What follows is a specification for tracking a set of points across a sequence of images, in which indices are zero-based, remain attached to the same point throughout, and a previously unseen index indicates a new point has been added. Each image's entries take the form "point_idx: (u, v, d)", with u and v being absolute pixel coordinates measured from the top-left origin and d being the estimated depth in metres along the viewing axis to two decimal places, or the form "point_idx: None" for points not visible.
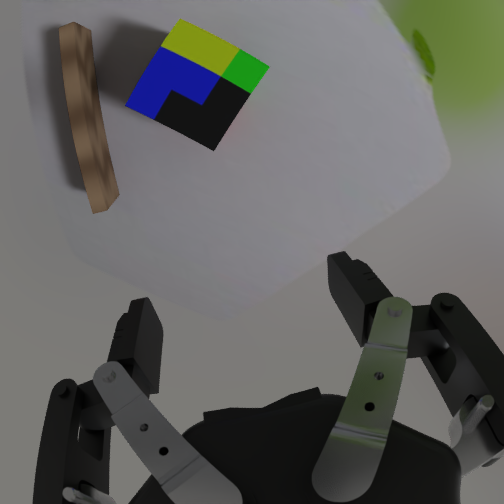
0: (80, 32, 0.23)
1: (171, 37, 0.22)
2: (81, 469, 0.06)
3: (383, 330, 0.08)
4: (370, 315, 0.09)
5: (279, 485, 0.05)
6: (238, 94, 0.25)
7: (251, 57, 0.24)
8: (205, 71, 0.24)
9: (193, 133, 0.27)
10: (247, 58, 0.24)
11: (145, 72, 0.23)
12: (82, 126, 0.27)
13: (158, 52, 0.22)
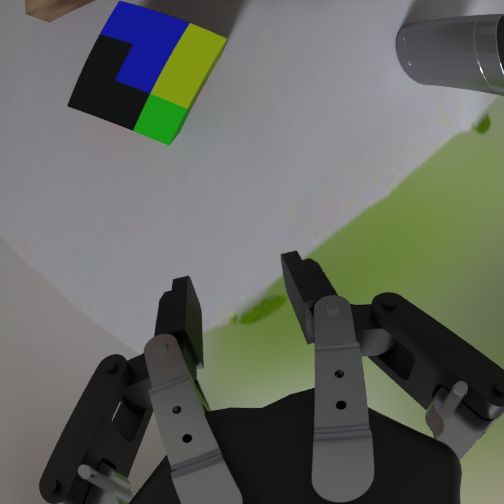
0: None
1: (200, 32, 0.18)
2: (106, 448, 0.07)
3: (327, 330, 0.09)
4: (311, 312, 0.10)
5: (279, 485, 0.05)
6: (130, 117, 0.21)
7: (177, 123, 0.22)
8: (154, 75, 0.19)
9: (84, 79, 0.18)
10: (175, 118, 0.22)
11: (156, 13, 0.17)
12: None
13: (181, 22, 0.18)
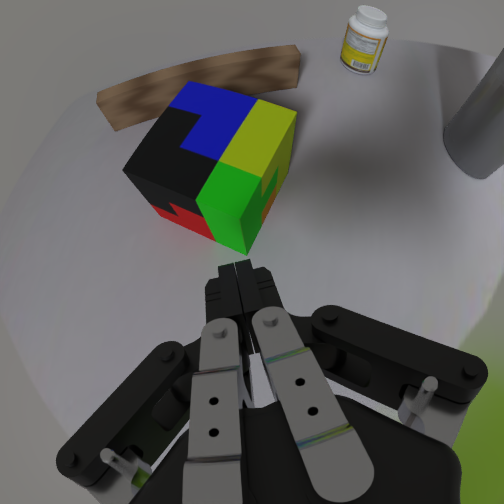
0: (289, 66, 0.30)
1: (270, 107, 0.22)
2: (139, 435, 0.07)
3: (272, 342, 0.09)
4: None
5: (279, 485, 0.05)
6: (193, 185, 0.20)
7: (250, 193, 0.20)
8: (223, 143, 0.21)
9: (145, 145, 0.21)
10: (248, 187, 0.20)
11: (225, 90, 0.22)
12: (183, 71, 0.28)
13: (249, 98, 0.22)
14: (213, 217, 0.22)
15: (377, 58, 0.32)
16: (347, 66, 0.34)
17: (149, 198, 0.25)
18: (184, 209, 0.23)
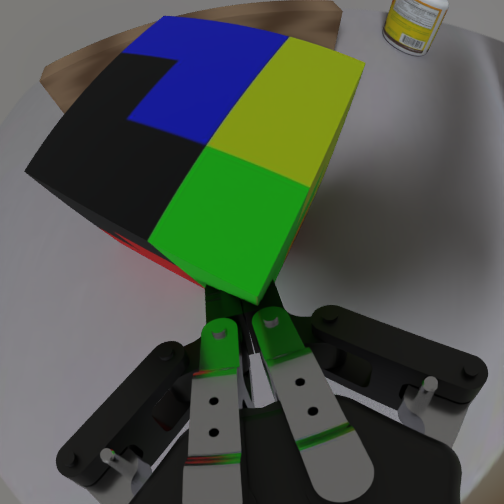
0: (325, 28, 0.18)
1: (314, 49, 0.10)
2: (139, 435, 0.07)
3: (272, 342, 0.09)
4: None
5: (279, 485, 0.05)
6: (144, 202, 0.08)
7: (284, 226, 0.08)
8: (220, 109, 0.09)
9: (69, 120, 0.09)
10: (277, 211, 0.08)
11: (226, 24, 0.10)
12: None
13: (273, 34, 0.10)
14: (195, 272, 0.10)
15: (433, 35, 0.20)
16: (394, 42, 0.23)
17: (89, 219, 0.13)
18: (140, 246, 0.11)
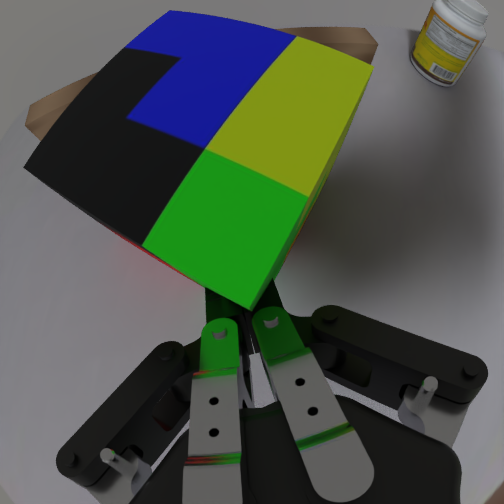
0: None
1: (321, 50, 0.09)
2: (139, 435, 0.07)
3: (272, 342, 0.09)
4: None
5: (279, 485, 0.05)
6: (140, 205, 0.08)
7: (280, 236, 0.08)
8: (221, 110, 0.09)
9: (68, 117, 0.09)
10: (274, 221, 0.08)
11: (232, 21, 0.10)
12: None
13: (280, 33, 0.10)
14: (190, 276, 0.10)
15: (466, 66, 0.18)
16: (423, 71, 0.21)
17: (88, 214, 0.13)
18: (138, 246, 0.11)
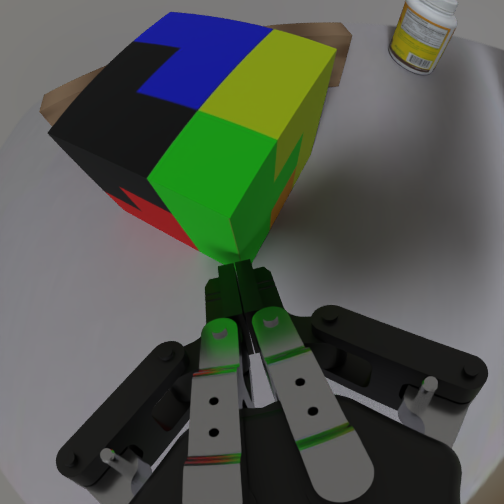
0: None
1: (292, 39, 0.12)
2: (139, 435, 0.07)
3: (272, 342, 0.09)
4: None
5: (279, 485, 0.05)
6: (146, 151, 0.10)
7: (254, 167, 0.10)
8: (211, 84, 0.11)
9: (87, 93, 0.11)
10: (250, 156, 0.10)
11: (222, 19, 0.12)
12: None
13: (260, 27, 0.12)
14: (184, 213, 0.12)
15: (440, 54, 0.20)
16: (401, 61, 0.23)
17: (98, 181, 0.15)
18: (141, 198, 0.13)
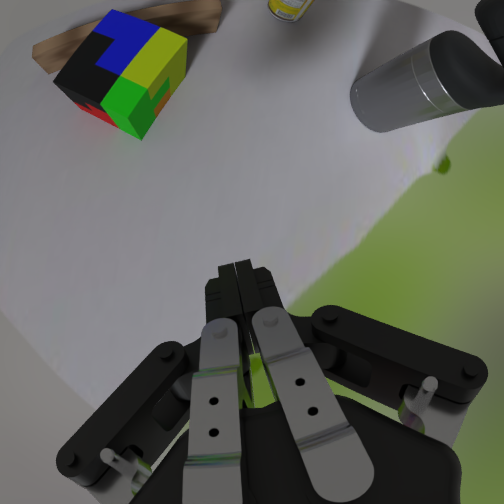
0: (210, 17, 0.28)
1: (167, 34, 0.23)
2: (139, 435, 0.07)
3: (272, 342, 0.09)
4: None
5: (279, 485, 0.05)
6: (99, 93, 0.22)
7: (137, 99, 0.23)
8: (126, 62, 0.22)
9: (71, 62, 0.21)
10: (136, 95, 0.23)
11: (137, 19, 0.21)
12: None
13: (154, 26, 0.22)
14: (113, 114, 0.25)
15: (303, 10, 0.31)
16: (272, 13, 0.33)
17: (72, 98, 0.26)
18: (95, 107, 0.25)
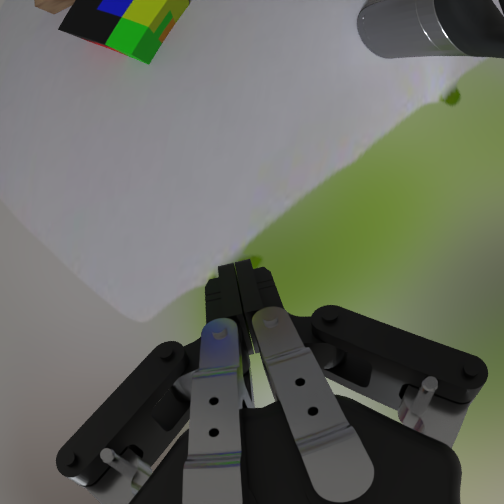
0: None
1: None
2: (139, 435, 0.07)
3: (272, 342, 0.09)
4: None
5: (279, 485, 0.05)
6: (103, 34, 0.21)
7: (139, 37, 0.22)
8: (126, 4, 0.20)
9: (73, 9, 0.18)
10: (138, 34, 0.22)
11: None
12: None
13: None
14: (118, 50, 0.24)
15: None
16: None
17: (79, 37, 0.23)
18: (101, 44, 0.24)
